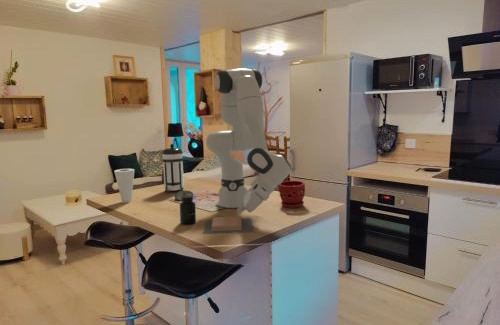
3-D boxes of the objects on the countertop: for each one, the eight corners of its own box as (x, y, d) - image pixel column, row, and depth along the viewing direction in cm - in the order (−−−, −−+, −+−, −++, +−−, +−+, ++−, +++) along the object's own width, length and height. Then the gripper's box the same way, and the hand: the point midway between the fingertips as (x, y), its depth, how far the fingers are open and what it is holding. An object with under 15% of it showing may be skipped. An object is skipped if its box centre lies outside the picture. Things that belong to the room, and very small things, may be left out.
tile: (240, 220, 150) (213, 221, 149) (240, 216, 149) (213, 217, 149) (241, 229, 138) (211, 230, 137) (241, 225, 138) (211, 226, 137)
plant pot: (281, 202, 183) (281, 180, 181) (306, 203, 179) (306, 180, 178) (276, 208, 170) (276, 185, 169) (303, 209, 167) (303, 185, 165)
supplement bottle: (193, 225, 147) (191, 198, 145) (178, 224, 148) (176, 198, 146) (198, 220, 154) (197, 194, 152) (183, 220, 155) (182, 194, 153)
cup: (113, 204, 187) (110, 171, 184) (122, 199, 197) (120, 168, 195) (131, 204, 186) (129, 171, 183) (139, 199, 196) (137, 168, 194)
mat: (206, 221, 152) (206, 220, 152) (251, 219, 153) (251, 218, 153) (203, 235, 134) (203, 233, 134) (253, 233, 135) (253, 231, 135)
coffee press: (156, 192, 215) (153, 144, 211) (176, 187, 227) (174, 142, 223) (173, 195, 204) (170, 145, 200) (193, 190, 216) (191, 143, 212)
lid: (194, 196, 200) (193, 188, 199) (192, 200, 190) (192, 192, 189) (176, 197, 199) (175, 189, 199) (173, 201, 190) (172, 192, 189)
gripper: (254, 178, 152) (232, 200, 153) (257, 188, 132) (232, 213, 133) (264, 188, 153) (242, 210, 154) (268, 199, 133) (244, 224, 133)
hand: (238, 212), depth 143 cm, fingers closed
